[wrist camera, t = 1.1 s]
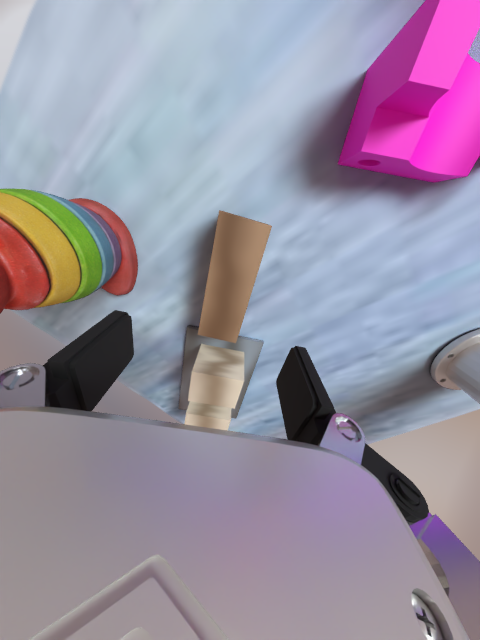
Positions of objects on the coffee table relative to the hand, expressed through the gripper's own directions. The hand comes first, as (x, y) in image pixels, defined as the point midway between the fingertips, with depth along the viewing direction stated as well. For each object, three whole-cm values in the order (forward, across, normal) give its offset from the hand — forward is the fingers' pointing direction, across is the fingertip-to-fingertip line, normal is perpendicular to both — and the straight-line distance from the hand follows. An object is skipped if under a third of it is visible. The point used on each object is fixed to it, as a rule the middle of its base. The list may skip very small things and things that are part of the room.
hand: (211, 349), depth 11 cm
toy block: (+16, -16, -17) cm, 28 cm away
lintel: (+16, 0, 0) cm, 16 cm away
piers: (+15, -1, +19) cm, 24 cm away
